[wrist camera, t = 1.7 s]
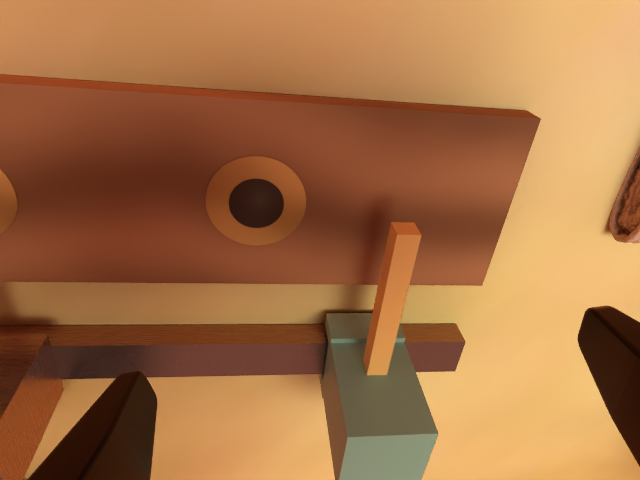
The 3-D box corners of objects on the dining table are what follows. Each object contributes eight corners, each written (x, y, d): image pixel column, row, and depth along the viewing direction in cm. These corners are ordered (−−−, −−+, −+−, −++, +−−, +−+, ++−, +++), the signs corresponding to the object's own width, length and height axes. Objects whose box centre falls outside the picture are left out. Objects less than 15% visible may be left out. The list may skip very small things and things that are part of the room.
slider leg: (382, 369, 28) (417, 489, 22) (318, 371, 28) (335, 494, 21) (425, 190, 22) (492, 286, 16) (343, 187, 21) (378, 285, 15)
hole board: (473, 272, 25) (483, 287, 24) (-69, 265, 21) (-88, 283, 20) (527, 110, 21) (543, 120, 19) (-154, 63, 17) (-186, 72, 16)
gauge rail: (443, 361, 29) (494, 475, 23) (-24, 369, 25) (-119, 509, 19) (500, 190, 23) (592, 282, 16) (-111, 165, 19) (-298, 273, 12)
